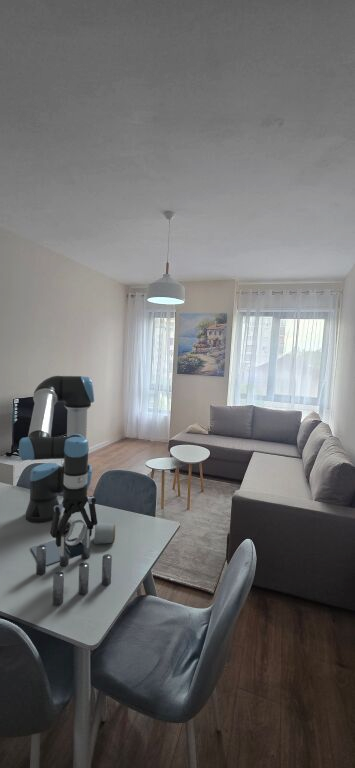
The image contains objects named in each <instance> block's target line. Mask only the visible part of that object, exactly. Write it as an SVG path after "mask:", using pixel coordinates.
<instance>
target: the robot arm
mask: <svg viewBox="0 0 355 768" xmlns="http://www.w3.org/2000/svg"><path fill="white" fill-rule="evenodd" d="M94 397H95V394H94V385H93V380H92V378H91V377H89V376H82V375H81V376H80V375H54V376H50V377H48V378H46V379H44V380H43V381H42V382H41V383H39V384H38V385H37V387H36V388H35V390H34V391H33V396H32V400H33V402H34V405H33V408H32V409H33V410H32V415H31V420H30V425H29V429H28V430H29V431H28V433H27V434H28V436H26V437H21V438H20V440H19V442H18V443H19V444H18V457H19V459H20V460H23V461H40V460H58V459H59V460H61V459H62V460H63V463H62V466H59V464H58V463H57V462H47V463H42V464H39V465H37V466H34V467H33V468H32V469H31V471H30V474H29V475H30V477H29V482H30V483H29V502H28V505H27V507H26V510H25V520H26V521H27V522H30V523H34V524H43V523H44V524H45V523H49V522H51V525H50V530H49V535H50V536H51V537H52V538H55V540H56V545H57V547H58V553H59V554H60V556H61V557H62V556H64V537H63V535H62V534H63V532H64V529H65V527H66V525H67V522H69V521H70V519H71V516H72V515H74V514H76V513H80V515H81V516H82V519H83V522H84V523H85V524H86V527H87V532H86V534H85V537H84V545H85V547H86V548H89V537H90V538H91V537H92V532H93V529H94V527H95V526H96V525H97V523H98V517H97V512H96V511H97V510H96V500H97V499H96V498H95V497H94V496H93V495H89V496H87V495H88V490H89V489H90V486H91V482H92V474H93V473H92V472H93V467H92V465H90V462H89V448H90V447H89V440H88V439H87V431H88V430H87V428H88V426H87V425H88V423H87V422H88V409H90V408H91V406H92V405H91V404H92V403H94V402H95V398H94ZM57 403H63V406H64V408H65V409H66V410H67V422H66V427H67V428H66V436H52V429H53V419H54V411H55V405H56V404H57ZM58 494H62V495H63V499H62V502H61V503H60V502H59V498H58ZM87 503H88V509H89V515H90V518H89V515H88V514H87V511H86V509H85V507H86V504H87ZM63 509H64V510H63ZM62 510H63V512H62ZM62 513H63V515H62V517H61V514H62ZM60 518H61V519H60Z"/></svg>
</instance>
